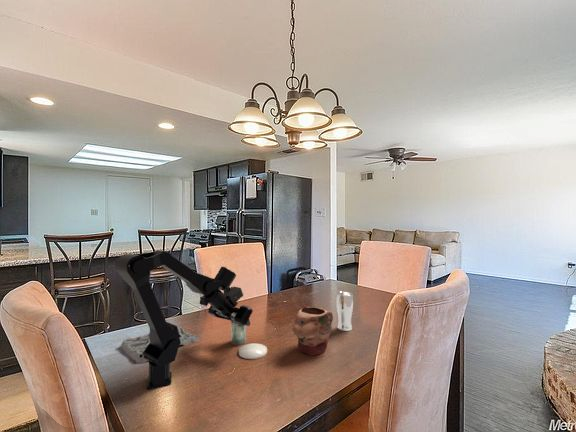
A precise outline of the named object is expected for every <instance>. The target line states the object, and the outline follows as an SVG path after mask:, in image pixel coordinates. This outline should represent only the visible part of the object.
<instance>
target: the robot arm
mask: <svg viewBox="0 0 576 432" xmlns="http://www.w3.org/2000/svg"><path fill="white" fill-rule="evenodd" d="M114 264H115V265H114V266H115V270H116V272H117V273H118V275H120V277H121V278H122V280H123V281H124V282H126V284H127V285H128V286H129V287H130V288H131V290H132V292H133V294H134V296H135V298H136V299H135V300H136V301H137V303H138V305H139V307H140V310H141V312H142V314H143V317H144V318H145V321H146V323H147V325H148V327H149V333H148V334H149V339H150V343H149V345H148V346H147V347H146V349H145V350H144V351H143V353H142V354H143V355H142V356H143V357H144V359H147V360H148V361H147V362H148V376H147V381H146V387H145V389H147V390H149V389H153V388H159V387H160V388H161V387H163V386H164V387H165V386H169V385H171V384H172V371H171V364H172V363H174V362H175V361H176V358H177V354H178V350H179V347H180V346H181V345H180V344H181V341H180V338H179V337H181V335H180V334H179V332H178V328H177V326H178V325H176V324H173V323H170V322H167V320H166V318H165V315H164V312H163V311H162V308H161V306H160V303H159V302H158V298H157V297H156V294H155V292H154V290H153V287H152V284H151V282H150V280H151V279H150V278H151V271H153V270H156V269H157V268H160V267H161V268H163V269H165V270H167V271H168V272H169V273H171V274H173V276H175V277H177V278H179V280H182V281H183V282H184V283H185V285H186V287H187V288H189V289H190V290H191V292H193V293H195V294H198V295H202V296H200V300H199V305H201V306H202V305H203V306H205V307H207V306H208V305H210V306H209V307H208V309H207V313H208V314H209V315H211V316H212V317H216V318H218V319H223V320H225V321H227V320H228V321H231V315H233V314H235V317H234V321H235V322H236V323H237V324H240V325H245V326H246V327H250V325H251V321H250V317H251V316H252V314H253V309H252V307H251V306H247V305H240V307H237V305H238V304H239V303H238V301H239V300H240V299H242V297H244V293H243V289H242V288H241V287H239V286H231V285H232V284H233V282H234V281H235V279H236V277H237V274H236V273H235V272H234V271H232V270H230V269H229V268H227V266H221V267H220V268H219V271H218V272H217V274H215V276H214V278H212V277H210V276H207V275H204V274H202V273H198V272H197V271H195V270H193V269H192V268H190V267H189V266H187V265H186V264H184V263H183V262H182V261H181V260H179V259H178V258H176V257H175V256H173V254H171V253H170V252H169V251H167V250H160V249H158V250H154V251H149V252H144V253H137V254H131V253H125V254H122V255H120V256H119V257H118V258H117V260H116V263H114ZM179 345H180V346H179Z"/></svg>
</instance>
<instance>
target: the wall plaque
mask: <svg viewBox="0 0 576 432" xmlns="http://www.w3.org/2000/svg"><path fill="white" fill-rule="evenodd" d="M176 326H177V328H178V332H179V334H180V335H181V337H179V338H180V341H181V344H180V345H179V347H180V346H181V345H182V346H187V345H190V344H193V343H197V342H199V340H200V339H199V336H198V335H197V334H192V333H190V332H187V331H185V330H184V328H183V327H182V326H181V325H176ZM149 343H150V339H149V333H147V334H144V335H140V336H139V335H138V337H128V338H126V339H124V340H123V341H122V342H121V344H120V345H121V350H123V351H124V352H125V353H126V355H127V356H129V357H130V358H131V359H132V360H133V361H135V363H137V364H144V363H147V362H149V361H148V360H147V359H144V357H143V354H142V353H143V351H144V350H145V349H146V347H147V346H148V345H149Z"/></svg>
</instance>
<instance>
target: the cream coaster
mask: <svg viewBox="0 0 576 432" xmlns="http://www.w3.org/2000/svg"><path fill="white" fill-rule="evenodd" d="M267 353H268V348H267V346H265V344H261V343H248V344H243V345H241V347H239V349H238V356H239V357H241V358H243V359H246V360H257V359H261V358H263V357H265V356H266V355H267Z"/></svg>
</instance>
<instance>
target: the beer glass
mask: <svg viewBox="0 0 576 432" xmlns="http://www.w3.org/2000/svg"><path fill="white" fill-rule="evenodd" d="M353 297H354V295H353V292H351V291H344V290H343V291H337V292H336V310H337V316H338V317H337V318H338V322H337V329H338V330H339V331H342V332H350V331H352V329H353V325H352V315H353V310H354V309H353V308H354V298H353Z"/></svg>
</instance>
